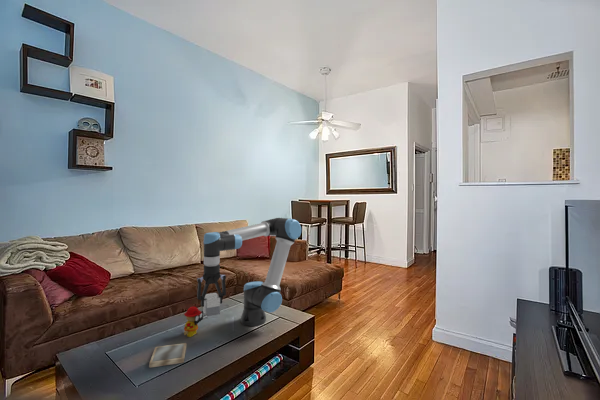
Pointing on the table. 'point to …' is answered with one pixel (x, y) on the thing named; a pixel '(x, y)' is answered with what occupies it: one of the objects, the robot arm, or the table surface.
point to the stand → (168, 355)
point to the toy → (192, 321)
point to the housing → (212, 304)
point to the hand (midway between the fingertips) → (211, 311)
